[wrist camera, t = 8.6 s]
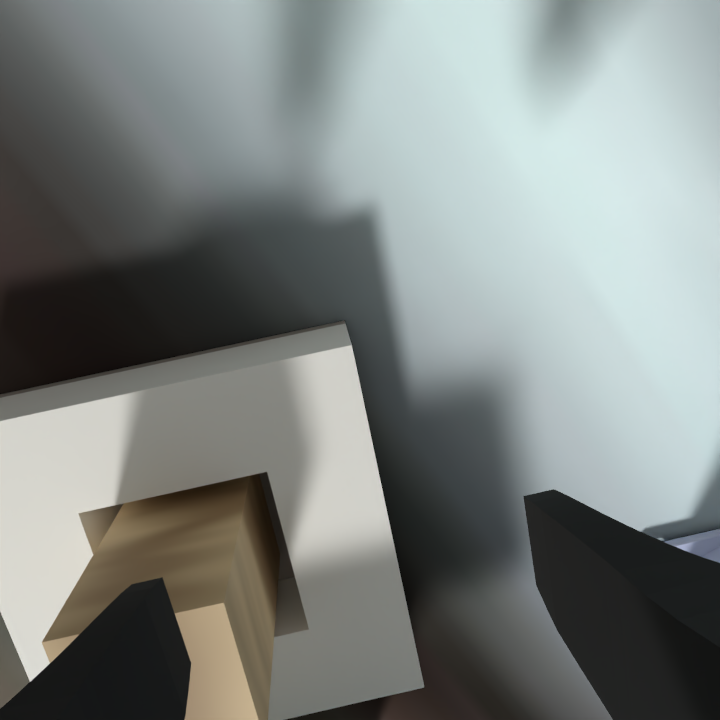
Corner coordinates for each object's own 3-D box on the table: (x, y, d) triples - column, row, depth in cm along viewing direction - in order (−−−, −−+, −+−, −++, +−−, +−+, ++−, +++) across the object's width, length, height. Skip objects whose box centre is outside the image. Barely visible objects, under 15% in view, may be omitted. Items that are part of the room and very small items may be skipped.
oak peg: (254, 454, 21) (223, 603, 14) (280, 555, 22) (265, 745, 15) (138, 478, 21) (41, 642, 13) (170, 578, 22) (97, 782, 15)
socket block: (344, 320, 21) (351, 345, 17) (408, 618, 24) (424, 687, 21) (-12, 397, 21) (-74, 436, 17) (101, 687, 24) (67, 770, 20)
